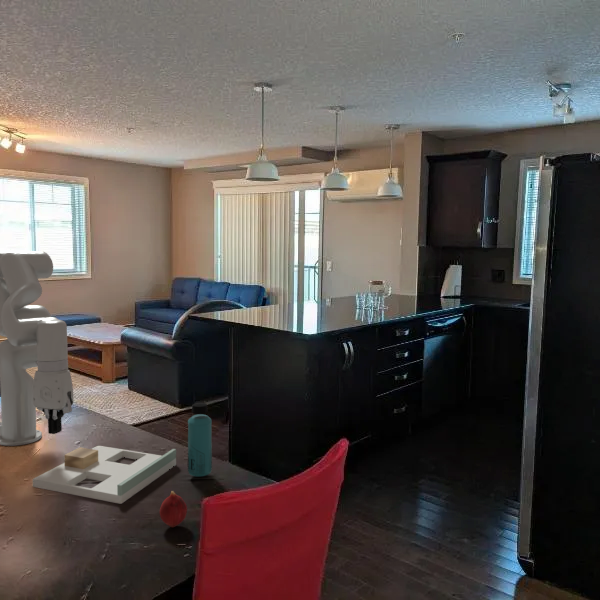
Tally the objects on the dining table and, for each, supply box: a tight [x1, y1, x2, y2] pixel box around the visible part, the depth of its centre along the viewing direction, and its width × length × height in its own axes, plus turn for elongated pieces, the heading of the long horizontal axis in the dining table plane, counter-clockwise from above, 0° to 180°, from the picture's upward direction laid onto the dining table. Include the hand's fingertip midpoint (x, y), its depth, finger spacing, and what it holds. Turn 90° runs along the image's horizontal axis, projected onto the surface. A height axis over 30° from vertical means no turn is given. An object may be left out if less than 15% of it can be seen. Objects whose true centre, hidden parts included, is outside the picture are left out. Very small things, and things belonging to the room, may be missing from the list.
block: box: [63, 446, 98, 469], centre depth 148 cm, size 6×6×3 cm
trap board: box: [32, 445, 177, 504], centre depth 145 cm, size 26×25×4 cm
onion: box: [159, 490, 188, 528], centre depth 120 cm, size 6×6×8 cm
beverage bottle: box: [186, 402, 213, 477], centre depth 145 cm, size 6×7×20 cm
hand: (55, 432), depth 149 cm, fingers closed
